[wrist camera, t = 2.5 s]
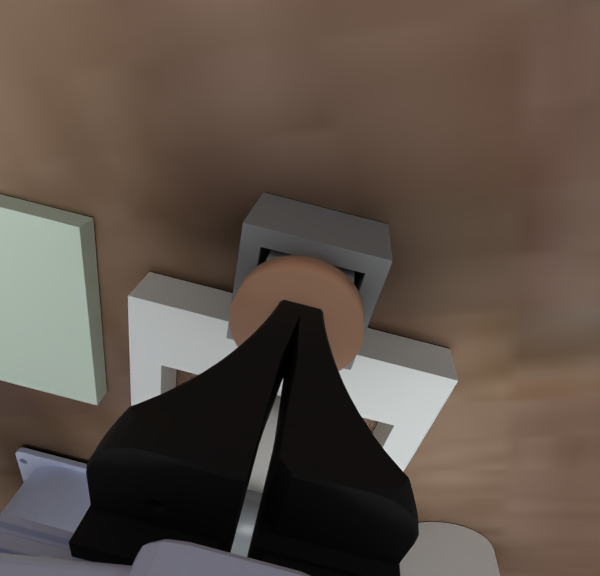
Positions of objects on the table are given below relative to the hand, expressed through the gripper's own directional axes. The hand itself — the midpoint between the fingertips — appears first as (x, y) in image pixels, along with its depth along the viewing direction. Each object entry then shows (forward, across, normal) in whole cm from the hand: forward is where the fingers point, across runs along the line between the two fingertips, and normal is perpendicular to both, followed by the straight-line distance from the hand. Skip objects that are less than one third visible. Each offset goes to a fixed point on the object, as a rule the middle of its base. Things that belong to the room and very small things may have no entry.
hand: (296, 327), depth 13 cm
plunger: (+4, 0, 0) cm, 4 cm away
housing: (+5, 0, +6) cm, 8 cm away
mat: (+4, +15, +6) cm, 17 cm away
